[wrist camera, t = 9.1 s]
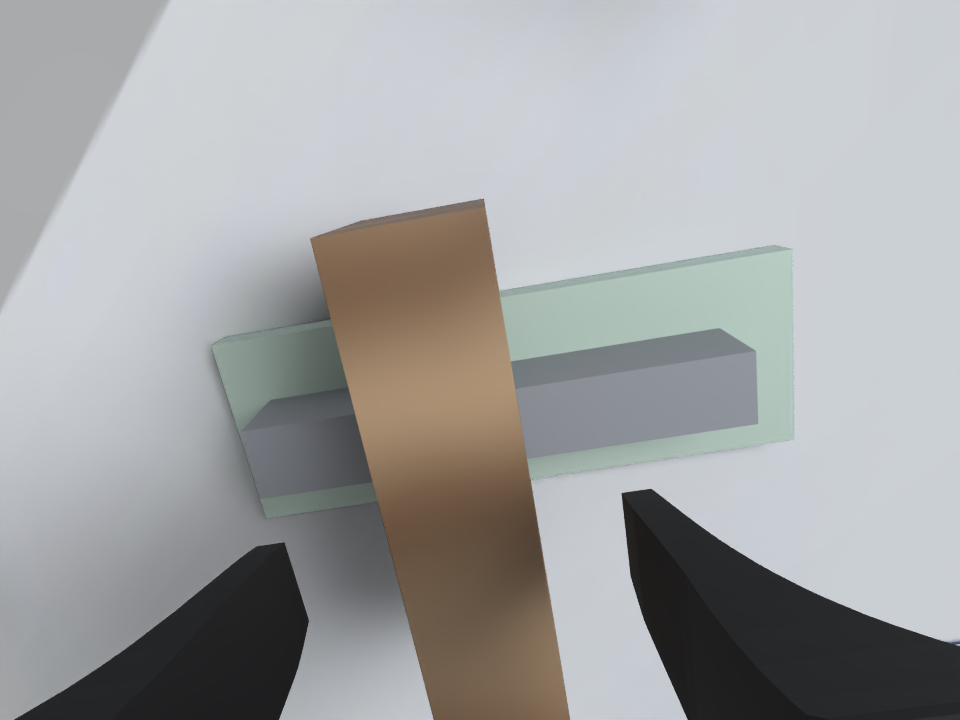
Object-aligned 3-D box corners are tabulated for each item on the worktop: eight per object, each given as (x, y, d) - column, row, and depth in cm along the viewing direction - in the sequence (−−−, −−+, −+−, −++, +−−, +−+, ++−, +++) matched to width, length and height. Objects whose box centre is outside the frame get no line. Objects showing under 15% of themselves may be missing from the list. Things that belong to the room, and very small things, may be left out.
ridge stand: (778, 426, 22) (838, 477, 19) (276, 502, 23) (236, 564, 20) (775, 245, 20) (842, 260, 17) (225, 336, 21) (169, 371, 18)
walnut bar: (552, 610, 20) (573, 744, 15) (453, 624, 20) (444, 761, 16) (483, 198, 16) (484, 207, 11) (360, 221, 16) (309, 238, 11)
